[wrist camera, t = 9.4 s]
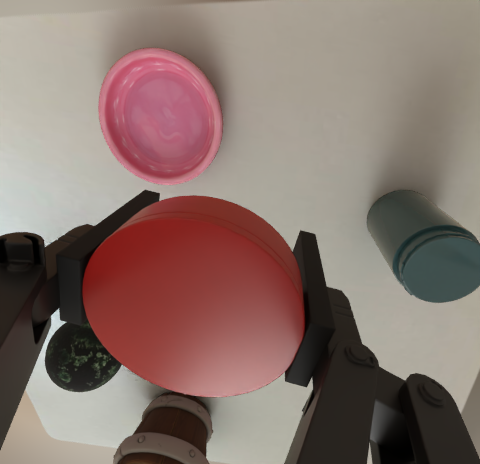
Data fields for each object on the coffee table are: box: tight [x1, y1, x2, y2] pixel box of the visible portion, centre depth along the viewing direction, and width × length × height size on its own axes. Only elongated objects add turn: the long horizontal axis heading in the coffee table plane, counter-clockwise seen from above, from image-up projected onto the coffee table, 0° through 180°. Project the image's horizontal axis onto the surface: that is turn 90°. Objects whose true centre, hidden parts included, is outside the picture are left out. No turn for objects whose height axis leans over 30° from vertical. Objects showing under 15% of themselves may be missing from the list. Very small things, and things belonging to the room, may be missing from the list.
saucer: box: [98, 48, 223, 185], centre depth 30 cm, size 12×12×3 cm
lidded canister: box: [367, 190, 480, 303], centre depth 28 cm, size 7×7×11 cm
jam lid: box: [82, 196, 305, 397], centre depth 10 cm, size 7×7×2 cm
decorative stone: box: [45, 318, 122, 392], centre depth 42 cm, size 10×10×10 cm
